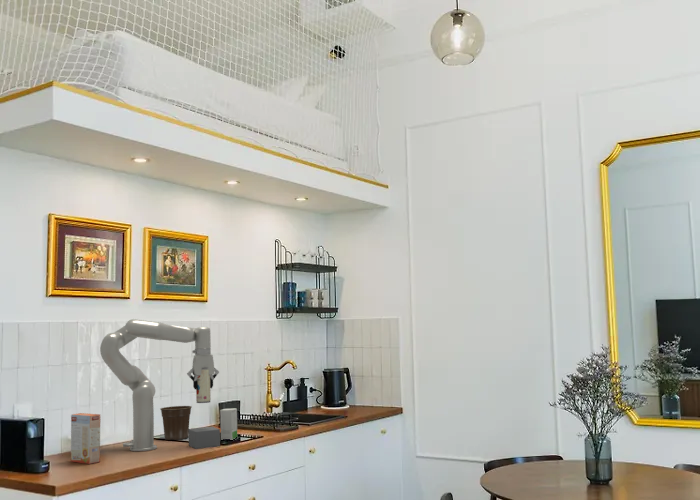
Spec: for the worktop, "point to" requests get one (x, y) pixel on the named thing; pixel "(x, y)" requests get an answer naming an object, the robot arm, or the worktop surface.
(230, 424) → the skincare box
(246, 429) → the worktop surface
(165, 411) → the plant pot
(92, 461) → the cracker box
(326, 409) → the worktop surface
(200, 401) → the aerosol can
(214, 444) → the stand
